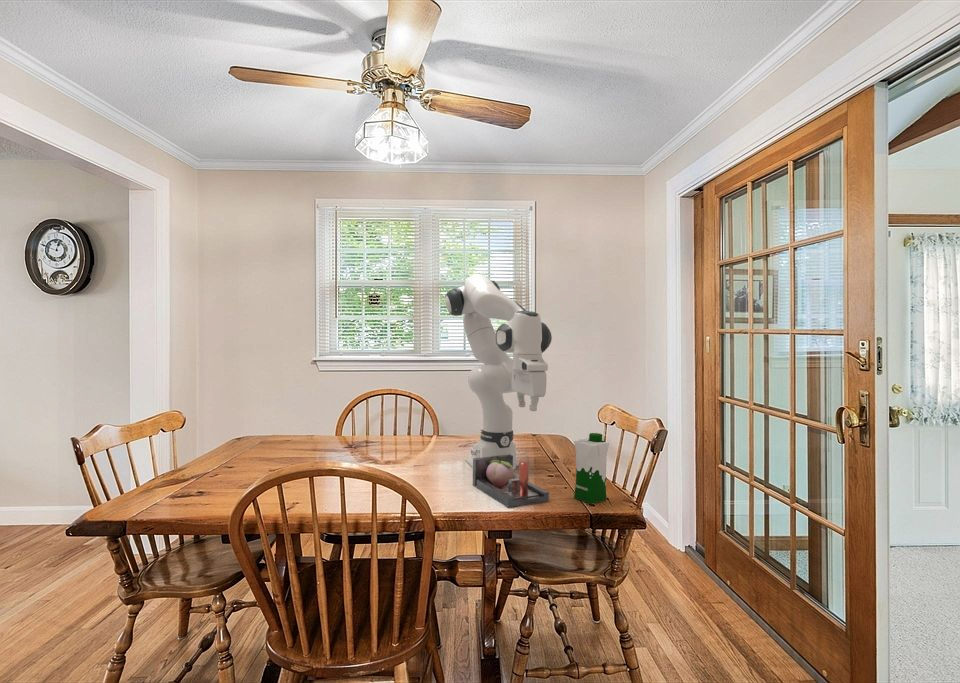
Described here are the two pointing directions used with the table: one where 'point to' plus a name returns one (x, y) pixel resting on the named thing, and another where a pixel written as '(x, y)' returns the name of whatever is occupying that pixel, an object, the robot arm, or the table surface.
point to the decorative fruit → (500, 473)
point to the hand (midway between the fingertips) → (527, 409)
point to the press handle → (521, 484)
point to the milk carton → (591, 469)
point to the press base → (497, 494)
